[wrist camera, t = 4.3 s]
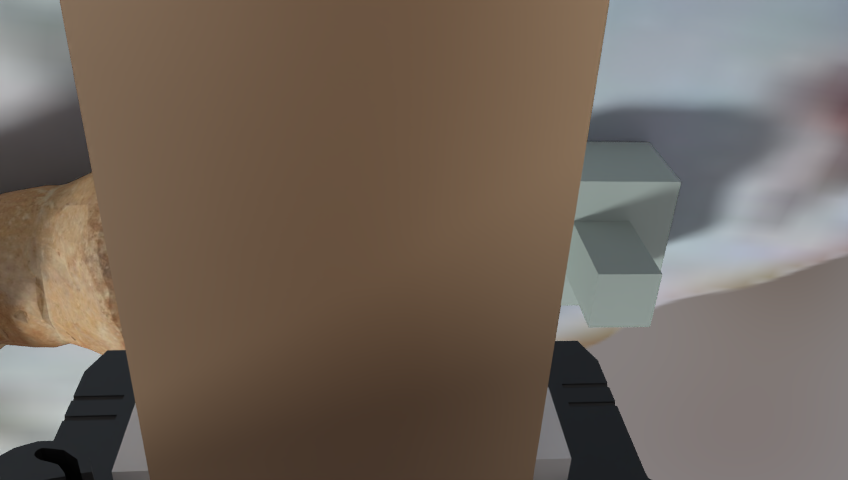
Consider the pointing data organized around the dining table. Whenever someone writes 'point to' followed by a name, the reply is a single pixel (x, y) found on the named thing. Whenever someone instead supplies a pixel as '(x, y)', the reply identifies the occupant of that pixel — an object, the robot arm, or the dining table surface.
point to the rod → (337, 225)
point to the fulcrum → (620, 233)
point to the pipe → (56, 270)
